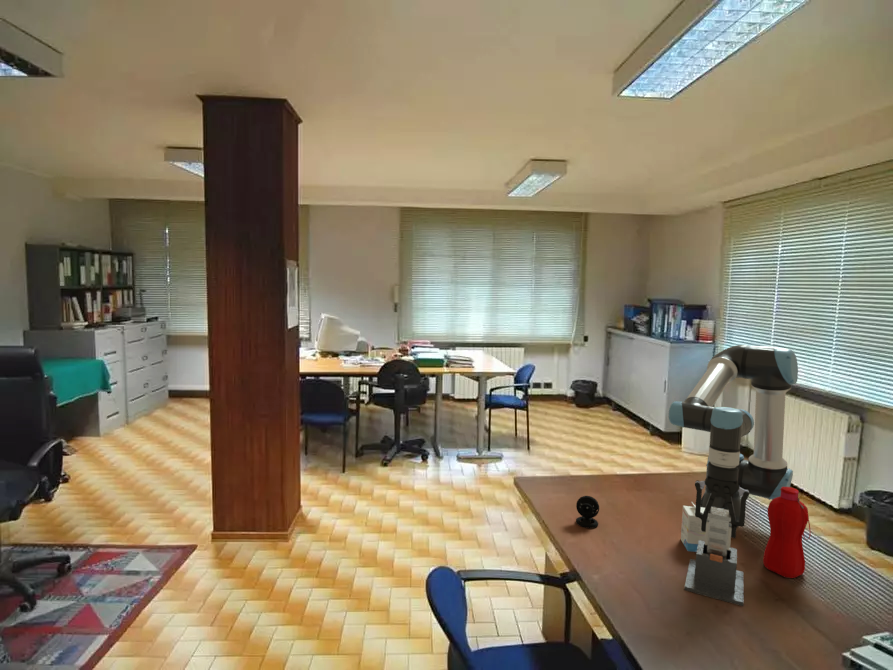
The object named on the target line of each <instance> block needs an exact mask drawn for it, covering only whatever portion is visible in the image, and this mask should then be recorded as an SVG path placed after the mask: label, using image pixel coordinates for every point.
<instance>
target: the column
mask: <svg viewBox="0 0 893 670" xmlns="http://www.w3.org/2000/svg"><path fill="white" fill-rule="evenodd" d="M708 517H709V530H708V544H707V554H708V555H710V554H714V555H718V556H722V557H723V558H725V559H726V556H727V543H728V529H729V522H731V515H729V510H726V509H721V508H716V507H711V510H710V511H708Z"/></svg>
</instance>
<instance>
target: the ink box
mask: <svg viewBox="0 0 893 670" xmlns="http://www.w3.org/2000/svg"><path fill="white" fill-rule="evenodd" d="M691 504H692V505H693V506H690V505H682V515H681V516H682V517H681V528H680V529H681V531H680V532H681V533H680V540H681V542H682V544H683V546H684V548H685V549H686V551H687V552H694V553H696V552H697V547H698V542H699V540H701V541H705V533H706V532H703V531H702V530H701V525H702V520H701V519H700V518H698V517H696V516H695V508H696V503H694V502H693V501H691ZM704 510H705V508H703V507H701V510H700V512H701V513H704ZM707 519H709V517H708V518H707Z"/></svg>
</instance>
